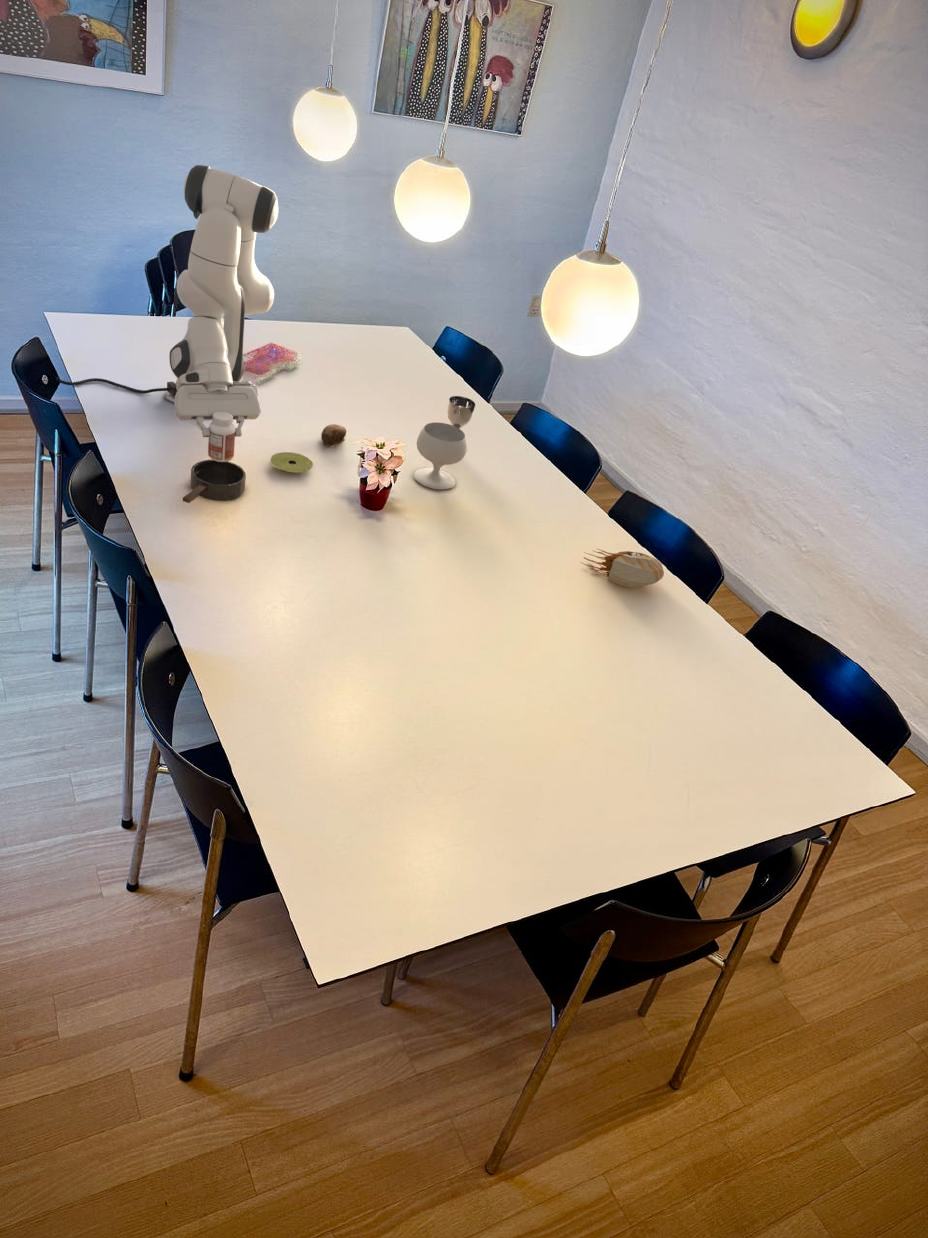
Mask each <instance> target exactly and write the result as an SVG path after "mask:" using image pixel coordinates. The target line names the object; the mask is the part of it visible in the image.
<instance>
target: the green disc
mask: <svg viewBox="0 0 928 1238" xmlns="http://www.w3.org/2000/svg"><path fill="white" fill-rule="evenodd" d="M270 463H271V465H272V466H274V467H275V468H277V469H279V470H280V471H281V470H282V471H284V472H288V473H305V472H307V471H309V470H311V469H312V468H313V466H314V464H313V463H314V462H313V461H312V459H310V458H309V457H308V456H305V455H303V454H300V453H297V452H291V451H283V452H277V453H275V454H273V455H272V456H271V457H270Z"/></svg>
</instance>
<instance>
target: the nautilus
mask: <svg viewBox="0 0 928 1238" xmlns="http://www.w3.org/2000/svg"><path fill="white" fill-rule="evenodd" d="M597 550H598V551H595V550H591V551H592V552H594V553H597V554H600V555H603V556H597V555H594V554H591V553H588V552H583V553H584V554H586V555H590V556H593V557H596V558H597V559H601V561H602V560H603V561H602V562H599V561H596V560H592V559H589V558H587V557H585V556H583V559H584V560H586V561H588V562H591V563H594V564H596V565H599V566H600V567H598V566H594V565H592V564H586V563H583V562H581V561H579V563H581V564H583V565H584V566H587V567H590V568H591V570H592V571H595V572H596V573H597V574H593V575H595V576H596V575H597V576H600V575H602V576H605V578H606V577H607V581H610V582H613V583H616V584H617V585H621V586H624V587H628V588H633V589H634V588H643V587H647V586H651V585H654V584H657V582H659V581H660V580H662V579H663V577H664V576H665V571H664V568H663V563H662V562H661V561H660V560H658V558H656V557H654V556H650V555H648V554H645V553H643V552H638V551H630V550H626V551H625V550H624V551H619V552H615V553H613V552H607V551H605V550H603V549H599V548H597Z"/></svg>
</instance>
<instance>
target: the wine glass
mask: <svg viewBox="0 0 928 1238" xmlns="http://www.w3.org/2000/svg"><path fill="white" fill-rule="evenodd" d="M475 408H476V402H475V401H473V400H472V399H471V398H468V397H465V396H460V395H453V396H450V397H449V398H448V403H447V418H448V421H449V422H450V425H453V426H455V427H457V428H459V429H460V430H461V429H462V428H463V427H464V426H466V425H468V424H469V423H470V421H471V419H472V417H473V415H474V413H475Z"/></svg>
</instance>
